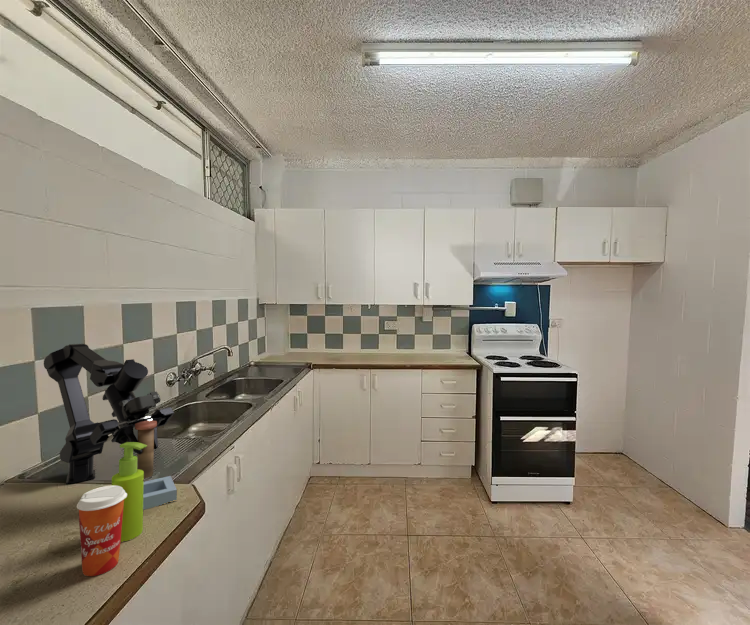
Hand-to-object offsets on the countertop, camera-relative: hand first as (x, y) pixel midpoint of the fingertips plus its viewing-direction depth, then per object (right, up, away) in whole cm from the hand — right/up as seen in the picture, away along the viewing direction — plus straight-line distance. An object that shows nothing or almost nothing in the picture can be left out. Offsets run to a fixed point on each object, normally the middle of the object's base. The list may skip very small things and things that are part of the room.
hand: (148, 450), depth 94 cm
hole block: (-1, -13, +2) cm, 14 cm away
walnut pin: (-1, -7, +1) cm, 7 cm away
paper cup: (+5, -14, -23) cm, 27 cm away
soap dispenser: (+4, -14, -13) cm, 19 cm away
